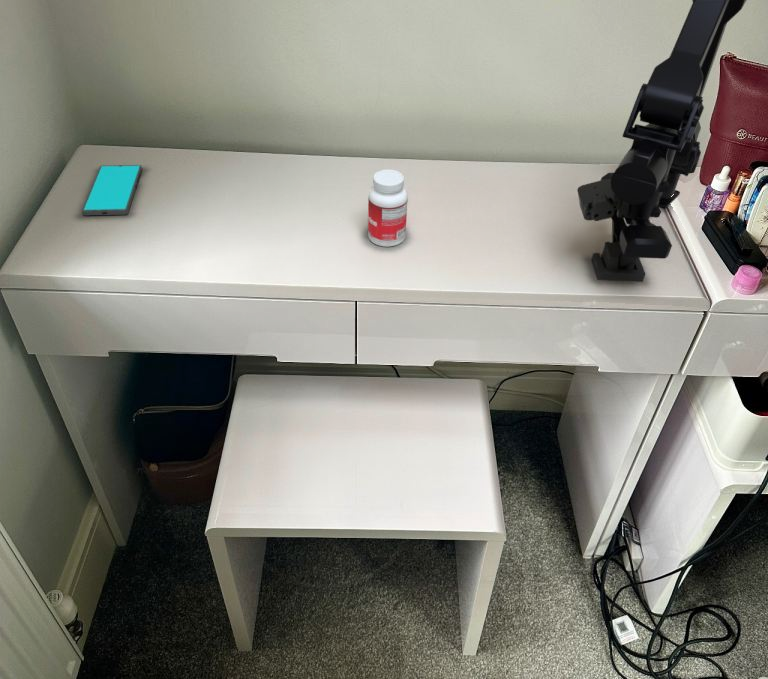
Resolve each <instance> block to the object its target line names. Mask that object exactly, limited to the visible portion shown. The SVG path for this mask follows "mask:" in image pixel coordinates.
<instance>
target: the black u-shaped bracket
mask: <svg viewBox="0 0 768 679" xmlns="http://www.w3.org/2000/svg"><path fill="white" fill-rule="evenodd" d="M590 261H591V264H592V267H593V270H594V274H595V277H596V280H597V281H623V282H644V280H645V277H646V272H645V268H644V266H643V264H642V261H641V259H640V258H638V259H637V260H636V262H635V265H634V268H633V270H630V269H605V268H604V265H603V262H602V259H601V252H592V256H591V259H590Z"/></svg>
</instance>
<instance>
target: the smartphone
mask: <svg viewBox="0 0 768 679" xmlns="http://www.w3.org/2000/svg"><path fill="white" fill-rule="evenodd" d="M142 171H143V167H142V164H121V165H120V164H119V165H118V164H114V165H113V164H112V165H100V166H99V168H98V170H97V173H96V175H95V178H94V180H93V183H92V185H91V187H90V190H89V192H88V194H87V197H86V199H85V201H84V204H83V206H82V209H81V212H82V215H83V216H121V215H122V216H123V215H129V211H130V208H131V206H132V202H133V200H134V197H135V193H136V190H137V187H138V184H139V181H140V178H141V175H142Z"/></svg>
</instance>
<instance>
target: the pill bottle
mask: <svg viewBox="0 0 768 679" xmlns="http://www.w3.org/2000/svg"><path fill="white" fill-rule="evenodd" d="M372 179H373V180H372V186H371V187H370V189H369V190H368V194H367V195H368V196H367V201H368V203H367V237H368V239H369V240H370V242H371V243H373V244H375V245H376V246H380V247H388V248H389V247H395V246H398V245H400V244H402V242H404V240H405V238H406V236H407V235H406V233H407V216H408V201H409V195H408V191H407V189H406V188H405V187H404V186H405V176H404V174H403V173H401V172H400V171H399V170H395V169H390V168H389V169H379V170H378V171H376V172H375V173H374V174H373V177H372Z"/></svg>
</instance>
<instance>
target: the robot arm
mask: <svg viewBox="0 0 768 679" xmlns="http://www.w3.org/2000/svg"><path fill="white" fill-rule="evenodd" d="M691 1H692V4H691V6H690V8H689V10H688V13H687V15H686V18H685V20H684V23H683V25H682V27H681V30H680V32H679V34H678V37H677V39H676V41H675V44H674V46H673V49H672V51H671V53H670V55H669V56H668V58H666V59H665V60H663V61H661V62H660V63H659V64H657V65H656V66H655V67H654V68H653V71H652V73H651V75H650V76H649V79H648V81H647V83H645V82H644V83H642V85H641V87H640V88H639V91H638V93H637V96H636V99H635V101H634V104H633V107H632V109H631V112H630V115H629V117H628V119H627V123H626V125H625V128H624V130H623V133H622V138H626V139H629V140H633V141H632V144H631V147H630V149H629V150H628V151H627V152H626V154H625V155H624V157H623V158H622V159H621V161H620V162H619V164H618V166H617V167H616V169H615V170H614V172H607V173H606V174H604V175H603V176H601V178H600V180H597V181H592V182H590V183H586V184H585V183H584V184H582V185H580V186H578V187H577V188H576V189H577V196H578V203H579V207H580V210H581V213H582V217H583V219H584V220H585V221H595V222H600V221H603V220H608V219H611V242H618V244H619V245H620V246H621V247H620V254H619V262H618V268H619V269H626V268H627V267H628V266H630V265H631V264H632V263H633V262H634V261H635V260H637V259H638V258H639V259H640V258H641V259H642V258H643V259H662V260H663V259H664V260H665V259H667V258H668V257H669V255H670V253H671V250H672V248H673V244H672V242H671V240H670V237H669V235H668V233H667V231H666V230H665V229H664V228H663V226H662V225H656V224H654V223H652V222H651V220H650V218H660V215H661V213H662V210H661V209H660V208H663V209H667V208H668V207H669V206H670V205H672V203H673V202H674V201H675V200H676V199H677V198H678V197H679V196H680V194H681V191H679V190H678V189H677V187H678V183H679V181H680V178H681V175H682V176H684V177H688V176H689V174H694V173H695V172H696V169H697V167H698V164H699V161H700V157H701V154H702V151H701V149H700V148H701V146H700V145H701V142H700V141H698V138H699V135H700V132H701V129H702V127H701V123H700V120H701V117H702V114H703V112H704V110H705V106H704V104H703V102H704V99H703V98H704V97H703V94H704V91H705V89H706V85H707V83H708V80H709V76H710V74H711V71H712V68H713V65H714V62H715V59H716V57H717V53H718V50H719V48H720V45H721V42H722V39H723V36H724V33H725V30H726V28H727V25H728V23H729V22H730V21H731V20H733V18H734V17H735V16H736V15H737V14H739V13H740V11H741V10H742V9H743V7H744V6H745V4H746V2H747V0H691ZM638 117H639V121H640V122H642V123H647V124H646V125H642V124H637V123H636V121H637V118H638ZM673 194H674V195H673ZM672 195H673V196H672ZM671 196H672V197H671Z"/></svg>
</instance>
